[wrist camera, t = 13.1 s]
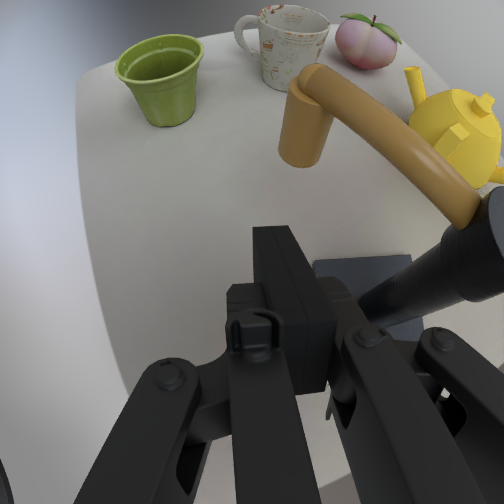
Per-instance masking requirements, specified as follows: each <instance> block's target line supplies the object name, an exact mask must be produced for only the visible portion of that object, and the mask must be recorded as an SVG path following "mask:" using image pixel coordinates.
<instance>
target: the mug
mask: <svg viewBox="0 0 504 504" xmlns="http://www.w3.org/2000/svg"><path fill="white" fill-rule="evenodd" d="M250 23H252V24H257V25H258V29H259V40H260V51H261V53H260V52H257V51H254V50H253V49H251V48H250V47H249V46H248V45H247V43H246V42H245V40H244V38H243V29H244V27H245V26H246V25H248V24H250ZM329 29H330V23H329V21H328V20H327V19H326V18H325V17H324V16H323V15H321V14H320V13H318V12H315V11H313V10H311V9H308V8H304V7H299V6H294V5H274V6H269V7H266V8H264V9H262V10H261V11H260V12H259V13H258V16H254V15H246V16H243V17H242V18H241V19H239V20H238V22H237V23H236V25H235V28H234V35H235V39H236V41H237V42H238V44H239V45H240V47H241V48H242V49H243V50H244V51H246V52H247V53H248V54H249V55H251V56H254V57H257V58H261V62H262V74H263V79H264V81H265V83H266V84H267V85H269V86H270V87H272V88H274V89H276V90H279V91H284V92H288V88H289V83H290V81H291V80H292V78H294V77H295V76H297V75H299V74H300V72H301V70H302V69H303V68H304V67H305V66H307V65H309V64H313V63H316V61H317V59H318V56H319V54H320V51H321V49H322V47H323V44H324V42H325V39H326V37H327V35H328V32H329Z"/></svg>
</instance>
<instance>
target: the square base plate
mask: <svg viewBox="0 0 504 504" xmlns="http://www.w3.org/2000/svg"><path fill="white" fill-rule="evenodd" d="M440 243H441V242H440ZM440 243H438V244H437V245H436V246H434V247H433V248H431V249H430V250H429V251H427V252H426V253H424V254H423V255H422V256H420V257H419V258H417V259H416V260H415V261H413V262H412V259H411V255H410V254H408V255H393V256H377V257H361V258H344V259H327V260H315V261H314V262H313V264H312V265H313V272H314V274H315V276H316V278H317V277H330V276H334V277H336V278H337V279H339V280H340V281H342V282H343V283H344V284H345V285H346V287H347V288H348V290H349V291H350V293H351V294H352V296H353V297H354V300H356V302H357V304H358V305H359V307H360V308H361V310H362V311H363V313H364V315H365V316H366V318H367V319H368V321H369V323H372V324H376V325H379V326H381V327H382V328H384V329H386V330H387V331H388V332H389V333H390V334H391V336H392V337H393V339H394V340H403V341H419V339H420V336H421V333H422V332H423V331H424V326H423V319H422V316H424V315H427V314H430V313H433V312H435V311H438V310H441V309H443V308H446V307H449V306H451V305H454V304H456V303H459V302H462V301H464V300H465V299H464V298H462V297H461V296H459V295H458V294H457V293H456V292H455V291H454V290H453V288H452V287H451V286H450V284H449V282H448V281H447V279H446V277H445V274H444V272H443V269H442V265H441V260H440Z"/></svg>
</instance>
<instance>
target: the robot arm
mask: <svg viewBox="0 0 504 504" xmlns="http://www.w3.org/2000/svg"><path fill="white" fill-rule="evenodd" d="M253 271H254V283H245V284H232V286H231V287H230V288H229V290H228V291H227V293H226V296H227V322H226V325H225V331H226V342H227V349H226V350H225V352H224V353H223V354H222V355H221V356H220V357H219V358H218V359H216V360H214V361H212V362H210V363H207V364H204V365H200V366H197V367H195V366H194V365H193V364H192V363H190V362H189V361H187V360H184V359H181V358H166V359H162V360H158V361H156V362H154V363H153V364H151V365H149V366H148V368H147V369H146V370H145V371H144V372H143V374H142V376H141V378H140V379H139V381H138V383H137V385H136V386H135V388H134V390H133V392H132V394H131V395H130V397H129V399H128V401H127V403H126V404H125V406H124V408H123V410H122V412H121V414H120V415H119V418H118V419H117V421H116V423H115V425H114V426H113V428H112V430H111V432H110V434H109V436H108V438H107V439H106V441H105V443H104V445H103V447H102V449H101V451H100V453H99V455H98V457H97V459H96V460H95V462H94V464H93V466H92V468H91V470H90V472H89V474H88V476H87V478H86V479H85V481H84V483H83V485H82V488H81V489H80V491H79V493H78V495H77V497H76V499H75V501H74V503H73V504H193V502H194V499H195V496H196V493H197V489H198V486H199V483H200V479H201V476H202V473H203V469H204V466H205V463H206V459H207V456H208V452H209V449H210V446H211V442H212V440H215V439H219V438H222V437H225V436H228V435H231V434H232V446H233V461H234V475H235V489H236V501H237V504H322V503H321V499H320V495H319V491H318V487H317V482H316V478H315V474H314V470H313V466H312V462H311V458H310V454H309V450H308V446H307V442H306V438H305V434H304V430H303V425H302V421H301V417H300V413H299V409H298V405H297V401H296V397H295V395H303V394H310V393H317V392H324V391H325V387H326V383H327V380H328V383H329V385H330V388H331V394H330V399H329V403H328V407H327V411H326V420H330V416H331V413H332V414H333V417H334V420H335V423H336V426H337V429H338V432H339V435H340V438H341V441H342V444H343V448H344V451H345V454H346V457H347V460H348V463H349V466H350V470H351V473H352V476H353V479H354V482H355V486H356V489H357V492H358V495H359V499H360V502H361V504H504V374H503V373H502V372H500V371H499V370H498V369H497V368H496V367H495V366H494V365H492V364H491V363H490V362H489V361H488V360H487V359H485V358H484V357H483V356H482V355H481V354H480V353H478V352H477V351H476V350H475V349H474V348H472V347H471V346H470V345H469V344H468V343H466V342H465V341H464V340H463V339H462V338H460V337H459V336H458V335H457V334H455V333H454V332H452V331H450V330H448V329H445V328H442V327H431V328H427V329H426V330H424V331H423V332H422V333H421V336H420V339H419V341H403V340H394V339H393V337H392V336H391V334H390V333H389V332H388V331H387V330H386V329H384V328H382V327H381V326H379V325H376V324H372V323H369V321H368V319H367V318H366V316H365V315H364V313H363V311H362V310H361V308H360V307H359V305H358V304H357V302H356V300H354V297H353V296H352V294H351V293H350V291H349V290H348V288H347V287H346V285H345V284H344V283H343V282H342V281H340V280H339V279H337V278H336V277H334V276H330V277H317V278H316V276H315V274H314V272H313V270H312V268H311V266H310V265H309V263H308V261H307V259H306V257H305V255H304V253H303V252H302V250H301V248H300V246H299V244H298V243H297V241H296V239H295V237H294V235H293V234H292V232H291V230H290V228H289V226H288V225H286V226H264V227H253ZM444 388H445V389H446V390H447V391H448V392H449V393H450V395H449V397H448V398H445V397H443V396H441V395H440V394H441V392H442V391H443V389H444Z"/></svg>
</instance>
